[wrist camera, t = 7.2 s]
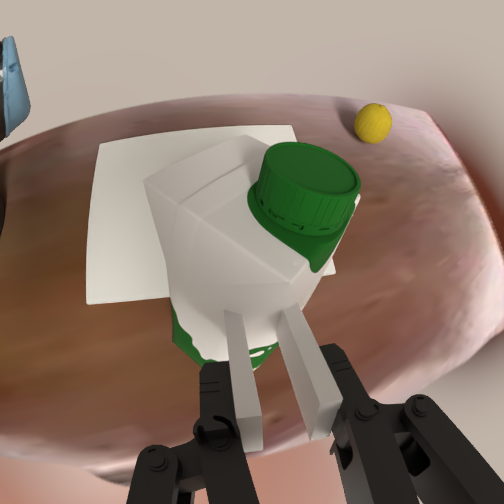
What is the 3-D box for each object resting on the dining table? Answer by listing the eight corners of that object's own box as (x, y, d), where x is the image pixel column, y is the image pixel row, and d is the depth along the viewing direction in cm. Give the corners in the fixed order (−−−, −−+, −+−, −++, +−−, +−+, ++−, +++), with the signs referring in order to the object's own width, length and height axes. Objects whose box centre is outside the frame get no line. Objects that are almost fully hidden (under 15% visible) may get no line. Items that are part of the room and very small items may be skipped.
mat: (101, 146, 34) (99, 143, 33) (290, 127, 38) (291, 125, 38) (88, 304, 26) (86, 303, 26) (334, 274, 31) (335, 272, 31)
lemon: (378, 157, 39) (402, 125, 31) (346, 145, 39) (367, 109, 31) (376, 135, 41) (397, 103, 33) (347, 123, 41) (365, 89, 33)
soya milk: (231, 403, 22) (318, 263, 7) (157, 340, 24) (117, 136, 10) (286, 337, 27) (389, 164, 12) (217, 286, 30) (248, 96, 15)
